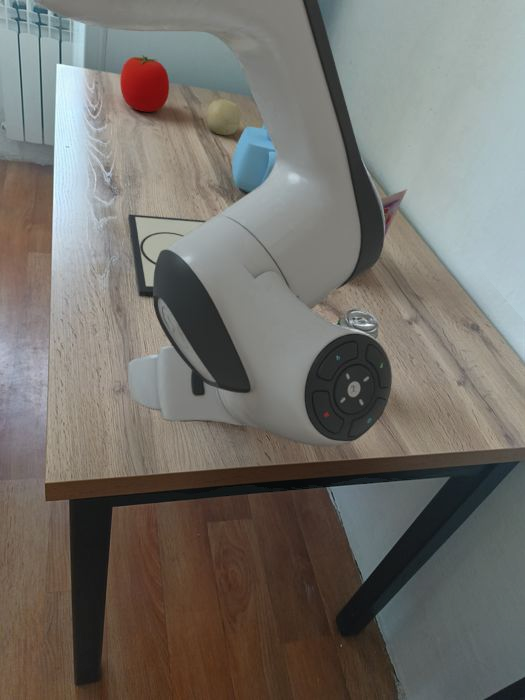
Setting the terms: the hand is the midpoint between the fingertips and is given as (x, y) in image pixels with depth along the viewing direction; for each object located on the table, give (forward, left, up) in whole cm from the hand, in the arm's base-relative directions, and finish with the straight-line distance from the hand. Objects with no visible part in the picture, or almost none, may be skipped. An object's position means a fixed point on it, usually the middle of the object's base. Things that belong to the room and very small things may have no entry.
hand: (210, 370), depth 61 cm
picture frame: (-19, +24, -6) cm, 31 cm away
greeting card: (+2, +44, -6) cm, 45 cm away
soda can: (+12, +14, -6) cm, 20 cm away
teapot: (-23, +57, -6) cm, 62 cm away
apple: (-41, +71, -6) cm, 83 cm away
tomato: (-58, +64, -6) cm, 87 cm away
